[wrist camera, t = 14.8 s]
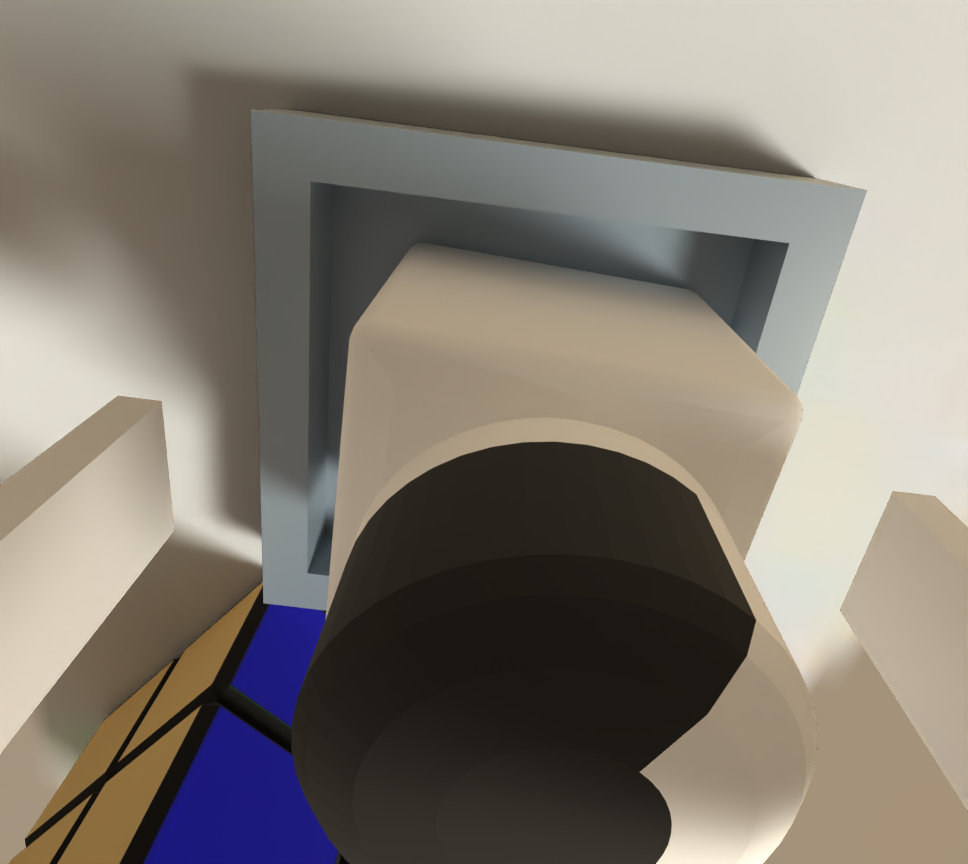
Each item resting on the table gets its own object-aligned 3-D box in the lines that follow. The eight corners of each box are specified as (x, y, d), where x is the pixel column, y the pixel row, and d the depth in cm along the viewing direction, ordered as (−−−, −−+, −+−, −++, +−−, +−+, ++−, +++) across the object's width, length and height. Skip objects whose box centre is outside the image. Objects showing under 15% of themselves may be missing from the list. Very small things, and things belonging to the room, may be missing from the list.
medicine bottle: (381, 490, 20) (218, 969, 9) (411, 237, 16) (215, 490, 6) (626, 530, 20) (763, 1042, 9) (700, 288, 17) (1046, 623, 6)
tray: (288, 109, 16) (250, 109, 14) (816, 178, 16) (866, 190, 14) (290, 549, 21) (263, 603, 19) (686, 597, 21) (707, 655, 19)
